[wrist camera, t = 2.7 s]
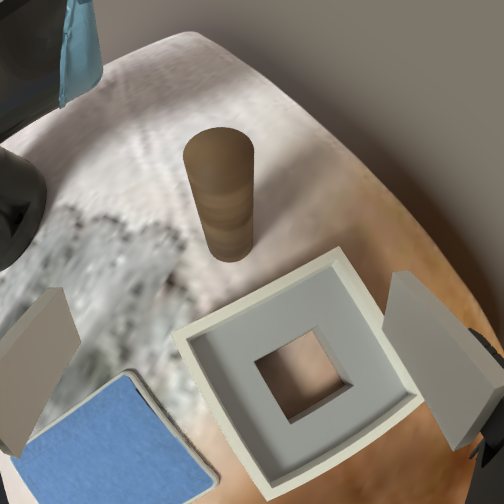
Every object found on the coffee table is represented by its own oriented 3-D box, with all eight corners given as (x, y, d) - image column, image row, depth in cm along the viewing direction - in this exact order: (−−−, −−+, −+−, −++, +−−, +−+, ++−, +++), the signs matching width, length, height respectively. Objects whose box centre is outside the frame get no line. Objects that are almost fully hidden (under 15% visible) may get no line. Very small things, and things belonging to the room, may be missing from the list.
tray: (182, 340, 24) (170, 333, 21) (327, 264, 27) (338, 245, 23) (264, 483, 19) (267, 501, 16) (405, 395, 22) (429, 396, 18)
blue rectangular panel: (132, 366, 24) (126, 365, 23) (225, 480, 20) (224, 485, 19) (12, 452, 19) (5, 454, 18) (83, 548, 15) (77, 553, 14)
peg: (200, 233, 28) (173, 143, 17) (239, 214, 29) (234, 119, 18) (219, 270, 27) (199, 191, 16) (260, 249, 27) (267, 162, 16)
